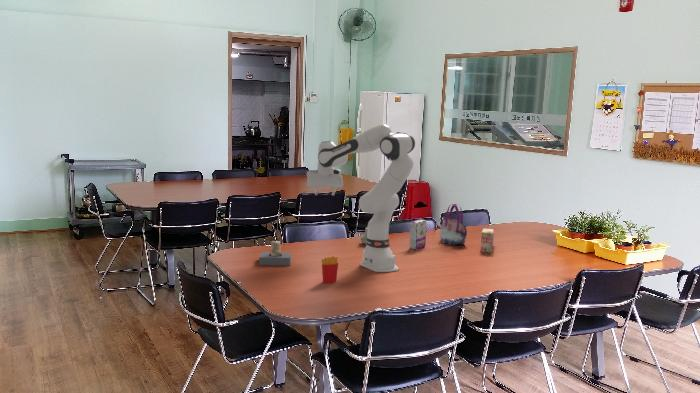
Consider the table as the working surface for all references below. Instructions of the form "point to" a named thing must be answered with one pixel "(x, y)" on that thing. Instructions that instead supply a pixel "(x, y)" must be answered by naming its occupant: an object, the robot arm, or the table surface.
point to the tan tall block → (275, 248)
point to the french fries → (329, 269)
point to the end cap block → (275, 259)
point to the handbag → (453, 228)
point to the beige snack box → (487, 240)
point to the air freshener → (364, 236)
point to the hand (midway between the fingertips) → (324, 195)
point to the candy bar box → (417, 234)
